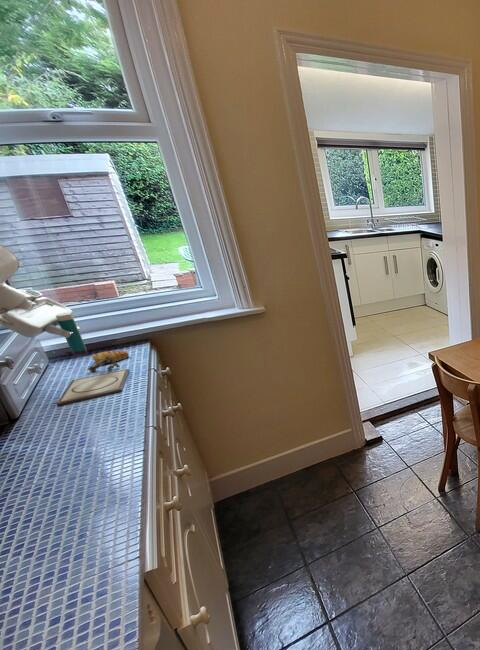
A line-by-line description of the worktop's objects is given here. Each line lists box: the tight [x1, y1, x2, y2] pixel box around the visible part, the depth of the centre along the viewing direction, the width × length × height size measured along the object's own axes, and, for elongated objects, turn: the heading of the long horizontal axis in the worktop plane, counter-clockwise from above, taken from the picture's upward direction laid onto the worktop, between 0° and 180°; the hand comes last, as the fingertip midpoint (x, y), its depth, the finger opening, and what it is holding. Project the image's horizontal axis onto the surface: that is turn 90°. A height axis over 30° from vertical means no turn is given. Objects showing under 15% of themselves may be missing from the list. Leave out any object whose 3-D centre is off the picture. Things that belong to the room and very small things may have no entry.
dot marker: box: [56, 313, 88, 356], centre depth 121 cm, size 3×3×12 cm
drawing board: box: [56, 368, 130, 407], centre depth 128 cm, size 14×20×1 cm
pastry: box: [92, 350, 130, 366], centre depth 147 cm, size 9×7×4 cm
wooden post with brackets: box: [86, 356, 120, 373], centre depth 140 cm, size 2×8×4 cm, turn 107°
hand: (74, 333), depth 121 cm, fingers closed on dot marker, 3 cm apart
